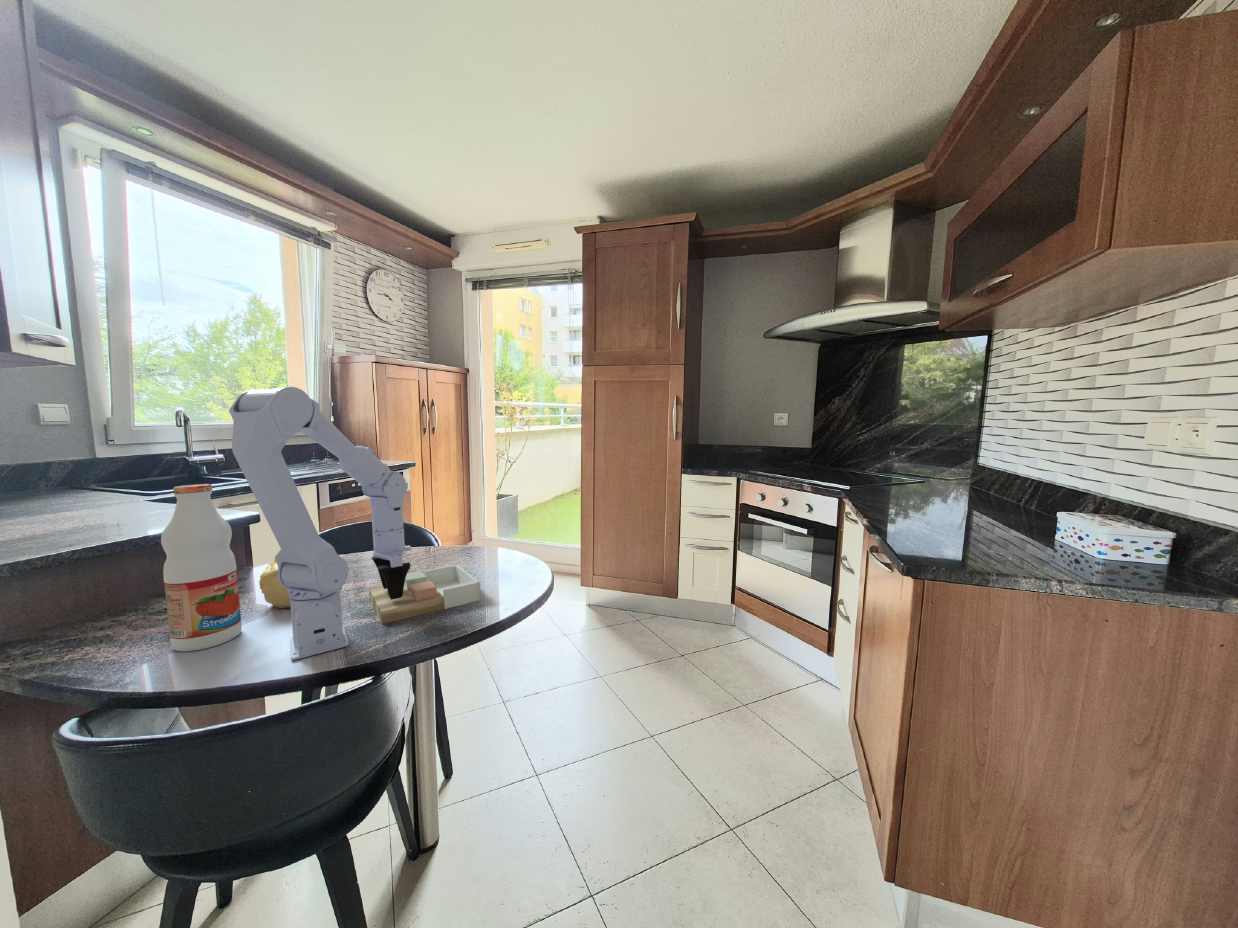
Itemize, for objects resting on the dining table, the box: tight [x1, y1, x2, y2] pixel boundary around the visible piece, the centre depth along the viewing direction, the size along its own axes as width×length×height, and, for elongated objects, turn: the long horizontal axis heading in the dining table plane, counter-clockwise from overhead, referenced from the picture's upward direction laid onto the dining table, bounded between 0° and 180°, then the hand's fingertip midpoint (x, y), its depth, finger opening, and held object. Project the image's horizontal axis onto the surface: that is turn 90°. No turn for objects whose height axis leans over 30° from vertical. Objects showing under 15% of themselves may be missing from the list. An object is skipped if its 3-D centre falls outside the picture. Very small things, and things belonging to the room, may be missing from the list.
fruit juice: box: [160, 483, 243, 653], centre depth 79 cm, size 9×9×28 cm
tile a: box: [410, 581, 437, 601], centre depth 93 cm, size 5×4×2 cm
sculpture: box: [258, 559, 291, 609], centre depth 97 cm, size 12×12×11 cm
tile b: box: [404, 570, 427, 589], centre depth 100 cm, size 5×4×2 cm
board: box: [368, 580, 445, 625], centre depth 95 cm, size 16×12×2 cm
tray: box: [423, 564, 482, 610], centre depth 100 cm, size 16×8×4 cm, turn 36°
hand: (392, 592), depth 93 cm, fingers open, 7 cm apart
